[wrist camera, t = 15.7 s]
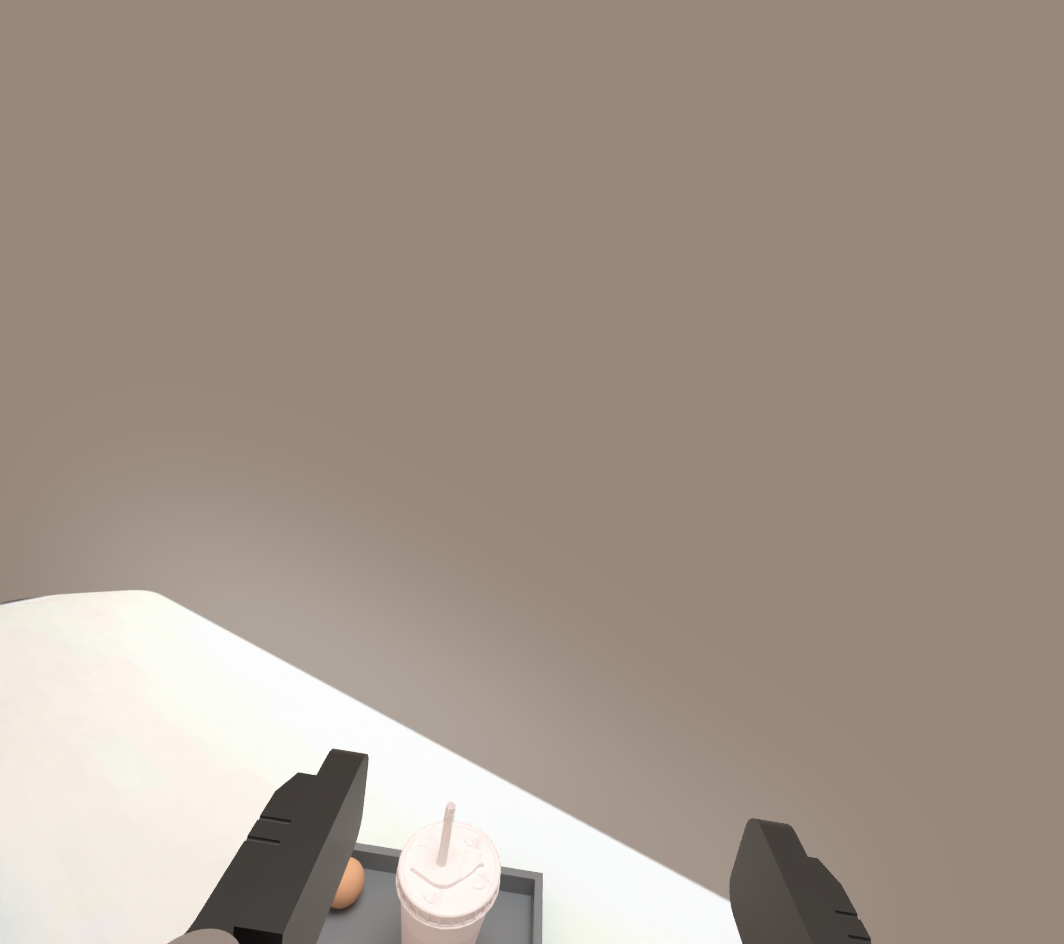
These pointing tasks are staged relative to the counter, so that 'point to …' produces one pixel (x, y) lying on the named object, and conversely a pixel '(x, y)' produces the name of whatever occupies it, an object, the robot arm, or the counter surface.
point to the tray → (375, 916)
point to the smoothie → (446, 882)
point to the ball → (349, 885)
